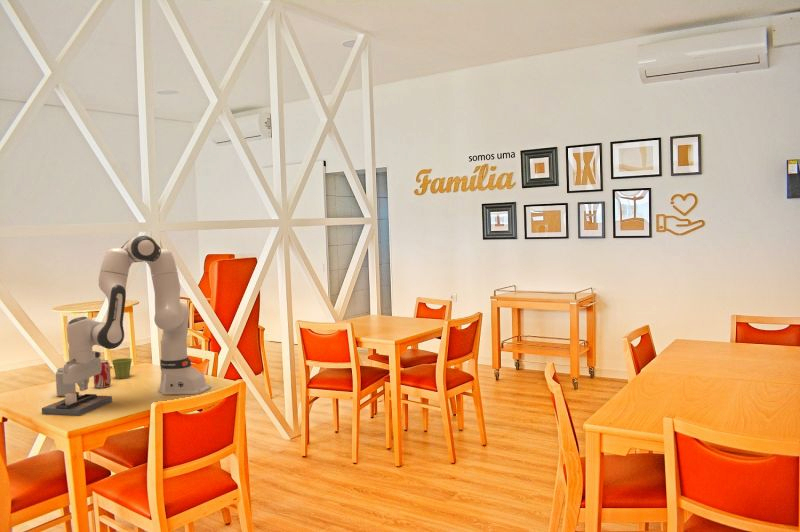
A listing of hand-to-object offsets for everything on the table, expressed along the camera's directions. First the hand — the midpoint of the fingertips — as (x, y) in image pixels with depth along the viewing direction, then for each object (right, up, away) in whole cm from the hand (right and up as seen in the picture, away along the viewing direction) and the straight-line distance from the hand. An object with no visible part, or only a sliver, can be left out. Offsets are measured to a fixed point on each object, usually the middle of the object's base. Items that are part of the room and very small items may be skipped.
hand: (83, 390), depth 262 cm
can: (-17, -6, +19) cm, 26 cm away
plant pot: (-6, -4, +50) cm, 51 cm away
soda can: (-7, -5, +32) cm, 33 cm away
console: (-2, -7, -2) cm, 7 cm away
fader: (-2, -4, -6) cm, 8 cm away
